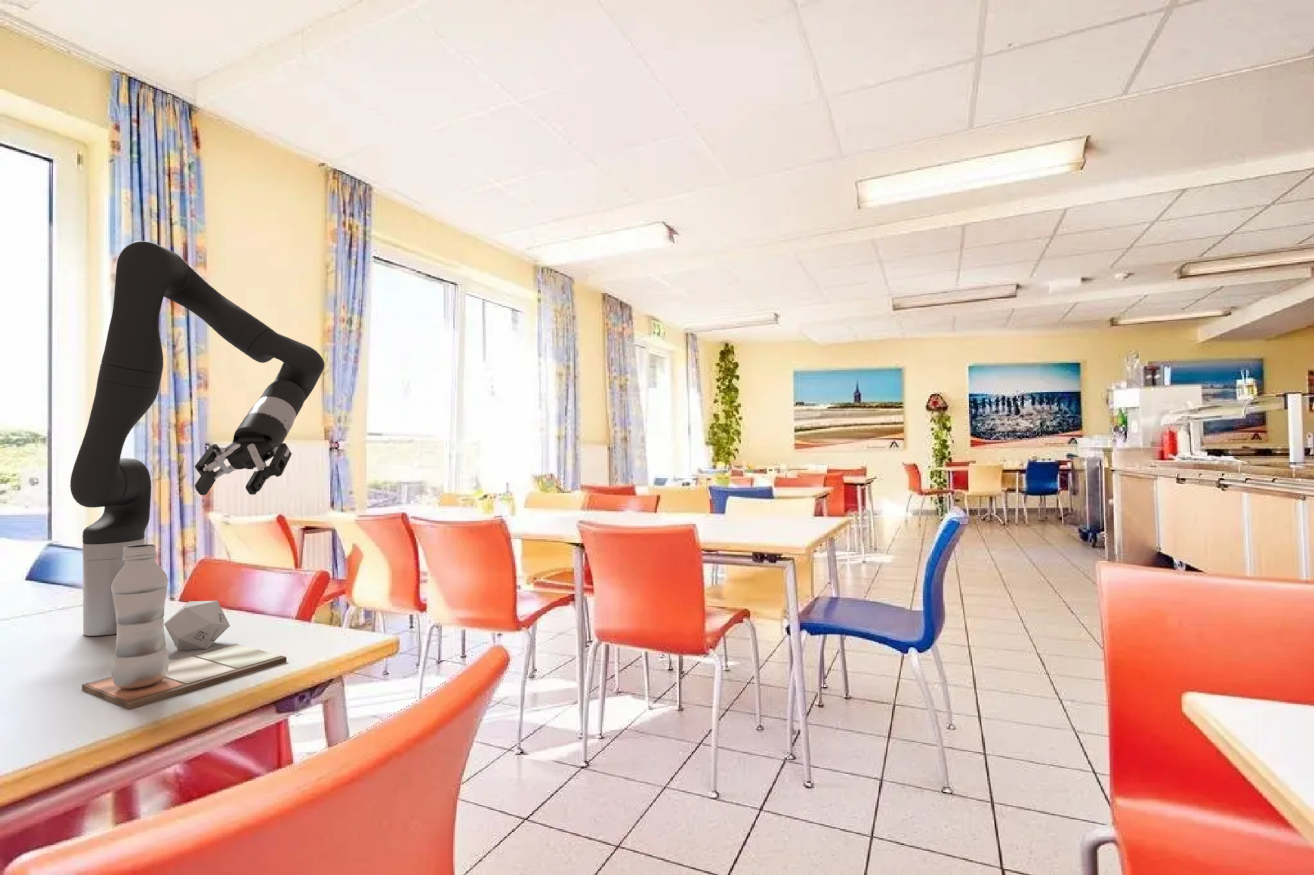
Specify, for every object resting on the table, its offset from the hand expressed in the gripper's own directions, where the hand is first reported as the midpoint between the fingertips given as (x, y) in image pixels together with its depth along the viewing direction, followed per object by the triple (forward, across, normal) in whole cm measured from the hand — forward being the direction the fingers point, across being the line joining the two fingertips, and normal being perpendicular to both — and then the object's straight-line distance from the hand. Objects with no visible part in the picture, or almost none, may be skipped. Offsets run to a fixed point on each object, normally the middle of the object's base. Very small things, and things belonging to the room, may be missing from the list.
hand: (225, 491), depth 108 cm
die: (+16, -8, +23) cm, 29 cm away
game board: (+26, +1, +12) cm, 29 cm away
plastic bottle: (+31, -1, +7) cm, 31 cm away
